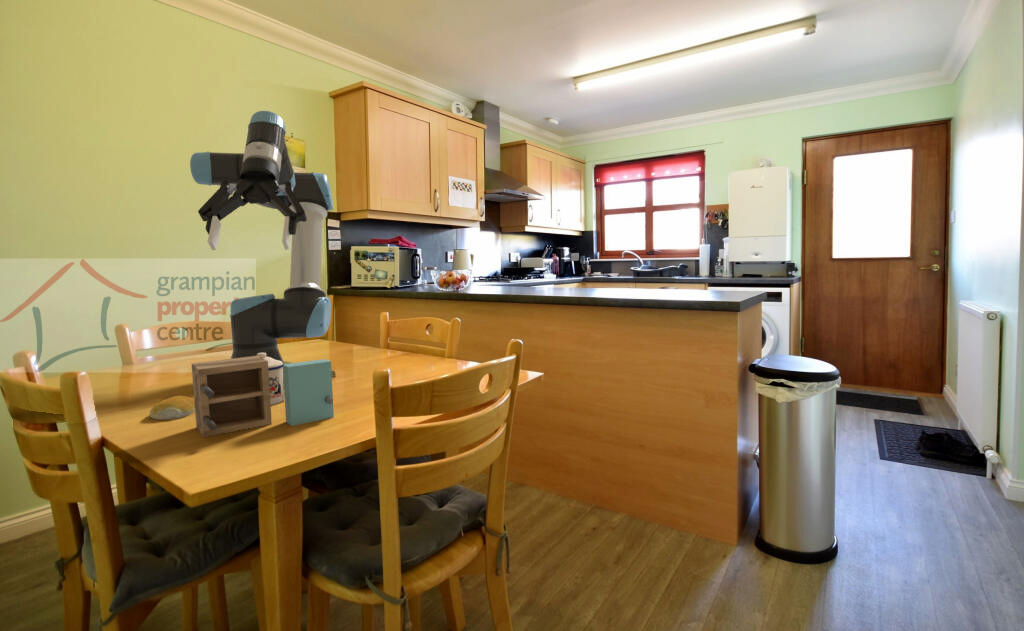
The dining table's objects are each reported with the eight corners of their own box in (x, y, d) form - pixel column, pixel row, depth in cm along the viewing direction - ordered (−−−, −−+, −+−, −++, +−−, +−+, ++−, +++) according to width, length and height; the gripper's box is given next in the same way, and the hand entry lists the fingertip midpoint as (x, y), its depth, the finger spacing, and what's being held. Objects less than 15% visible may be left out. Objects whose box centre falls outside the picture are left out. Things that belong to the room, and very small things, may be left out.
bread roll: (200, 407, 118) (199, 390, 118) (189, 419, 110) (188, 400, 109) (159, 411, 116) (157, 393, 115) (144, 422, 107) (142, 404, 107)
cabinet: (196, 427, 103) (191, 363, 102) (261, 415, 111) (257, 355, 109) (210, 446, 92) (205, 375, 91) (281, 432, 100) (277, 365, 98)
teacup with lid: (245, 409, 115) (242, 358, 114) (240, 400, 123) (237, 352, 122) (302, 401, 122) (299, 352, 121) (294, 393, 130) (291, 347, 128)
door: (286, 421, 106) (282, 364, 105) (327, 413, 112) (324, 358, 110) (292, 427, 103) (289, 367, 102) (335, 418, 108) (332, 362, 107)
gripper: (192, 153, 108) (172, 233, 97) (318, 157, 113) (312, 233, 102) (205, 179, 114) (187, 257, 104) (323, 181, 119) (318, 256, 109)
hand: (249, 245), depth 103 cm, fingers open, 13 cm apart
